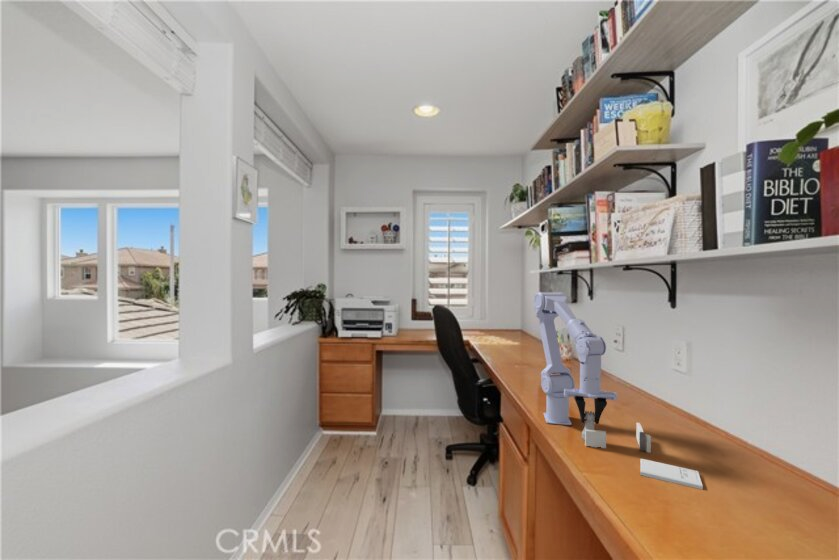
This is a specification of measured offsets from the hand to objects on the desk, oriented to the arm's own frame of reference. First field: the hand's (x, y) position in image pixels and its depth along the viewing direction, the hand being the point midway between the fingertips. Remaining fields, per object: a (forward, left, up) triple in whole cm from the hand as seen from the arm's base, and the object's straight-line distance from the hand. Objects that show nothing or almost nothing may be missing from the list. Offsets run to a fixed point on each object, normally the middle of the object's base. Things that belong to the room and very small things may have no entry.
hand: (589, 422), depth 114 cm
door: (0, +14, -5) cm, 15 cm away
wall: (+4, +7, -5) cm, 9 cm away
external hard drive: (+17, +15, -6) cm, 23 cm away
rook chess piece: (0, 0, -5) cm, 5 cm away
